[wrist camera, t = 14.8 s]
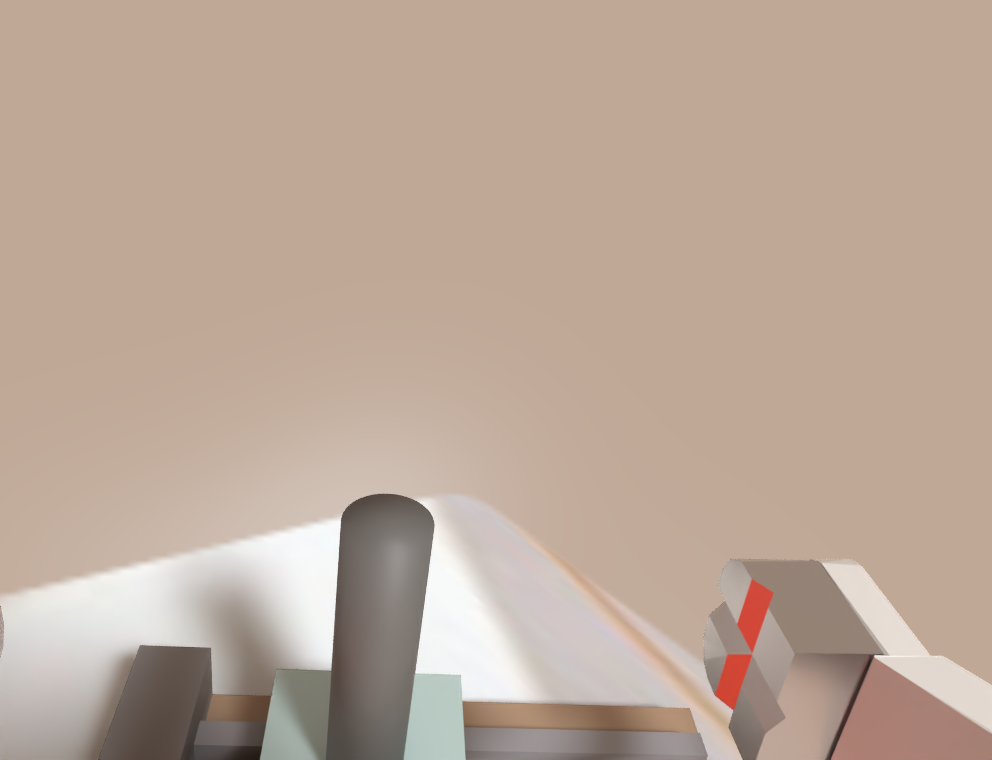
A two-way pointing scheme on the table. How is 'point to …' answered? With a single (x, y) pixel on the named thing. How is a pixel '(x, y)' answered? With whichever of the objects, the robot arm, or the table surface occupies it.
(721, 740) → the table surface
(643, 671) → the table surface
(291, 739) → the carriage
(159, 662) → the rail board
